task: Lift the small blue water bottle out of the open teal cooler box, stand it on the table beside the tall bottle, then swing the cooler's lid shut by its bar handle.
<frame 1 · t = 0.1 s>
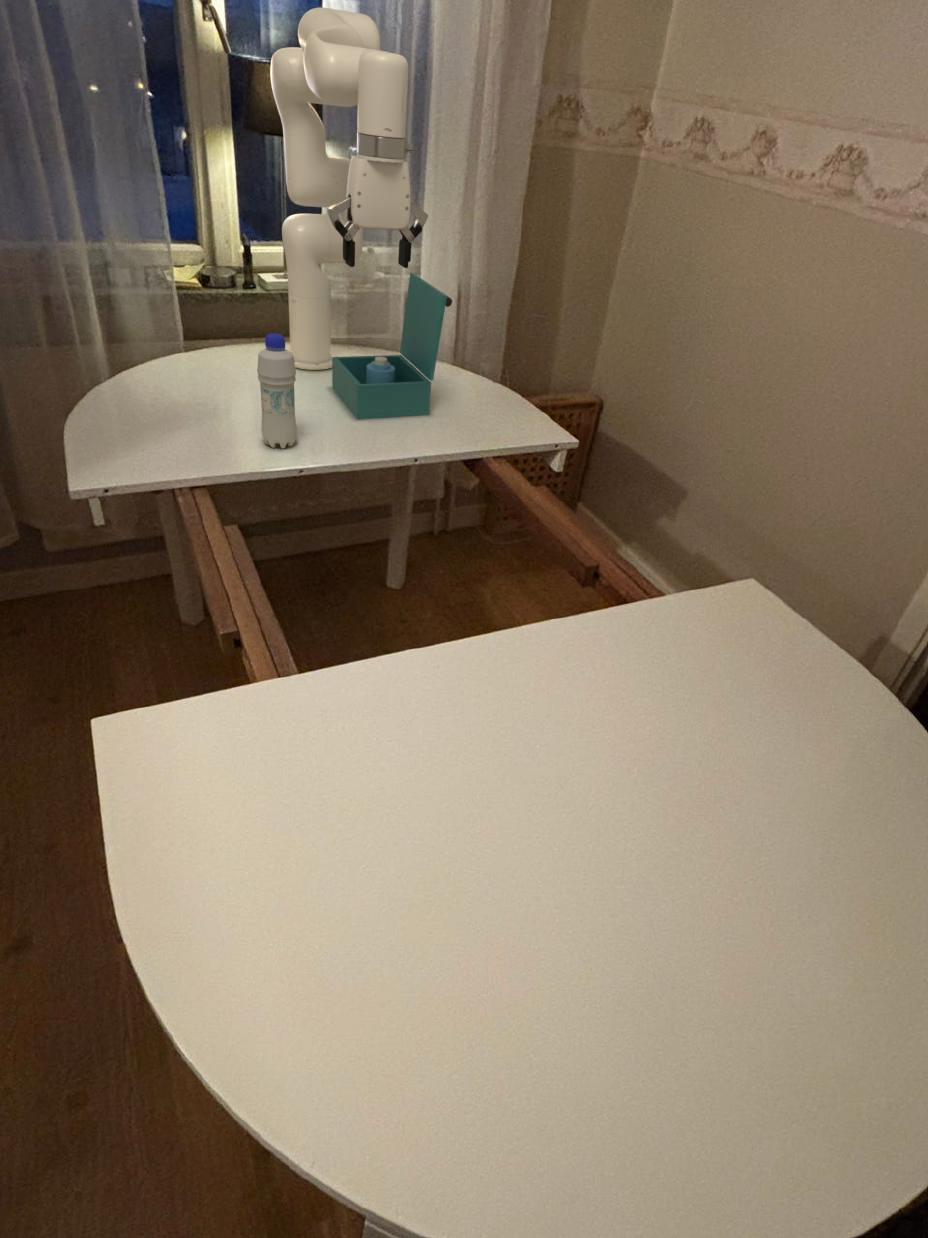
hand: (376, 265, 127), 31 cm above the table, tool pointing down, fingers open, 9 cm apart
water bottle: (379, 396, 161), point 1 cm above the table, touching cooler
cooler: (379, 401, 161), on the table
bottle: (279, 444, 139), on the table
cooler lid: (430, 326, 156), point 16 cm above the table, hinge at 95.0°
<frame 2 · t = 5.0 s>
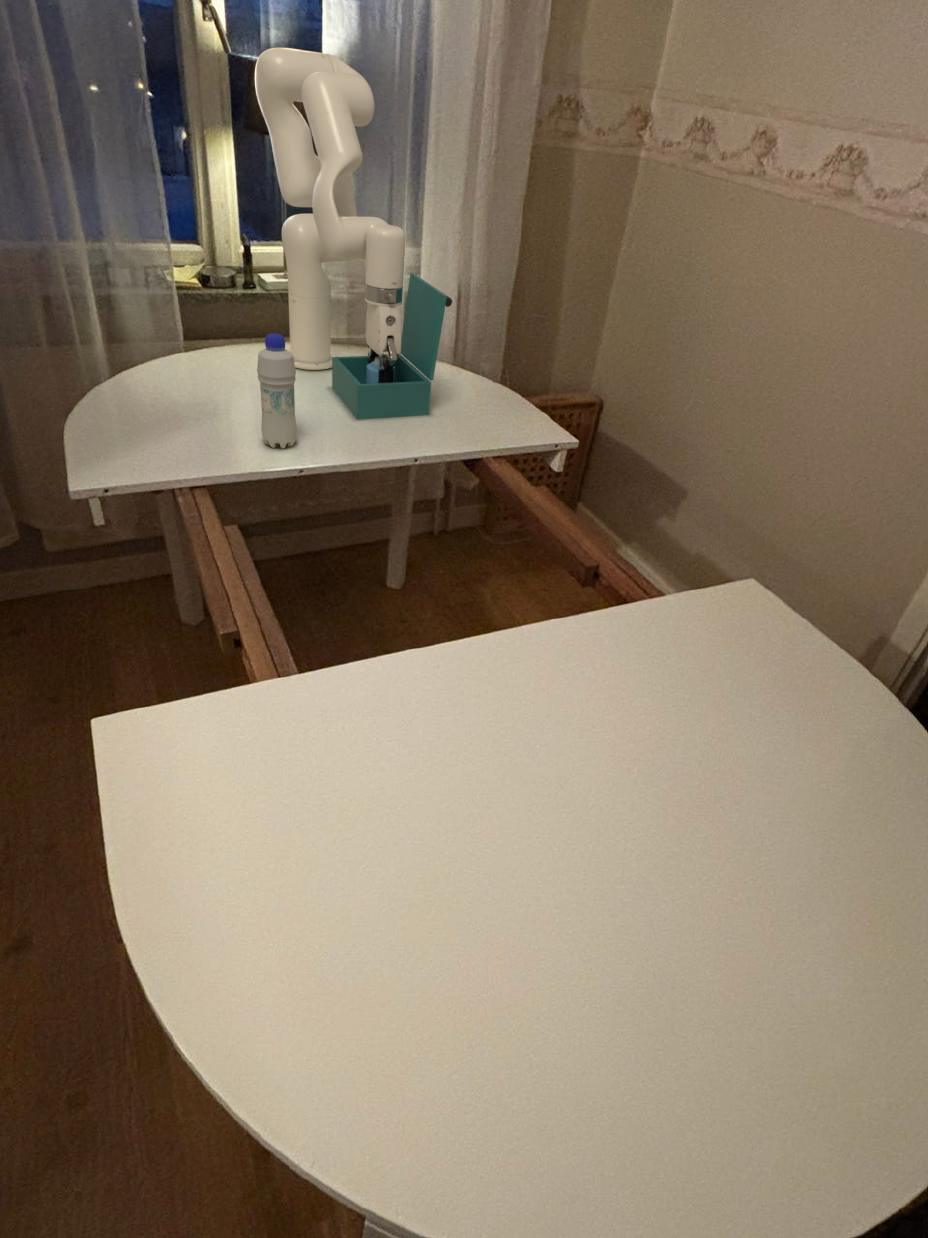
hand: (380, 381, 159), 4 cm above the table, tool pointing down, fingers closed on water bottle, 6 cm apart
water bottle: (379, 396, 161), point 1 cm above the table, touching cooler, gripper
everything else where it was.
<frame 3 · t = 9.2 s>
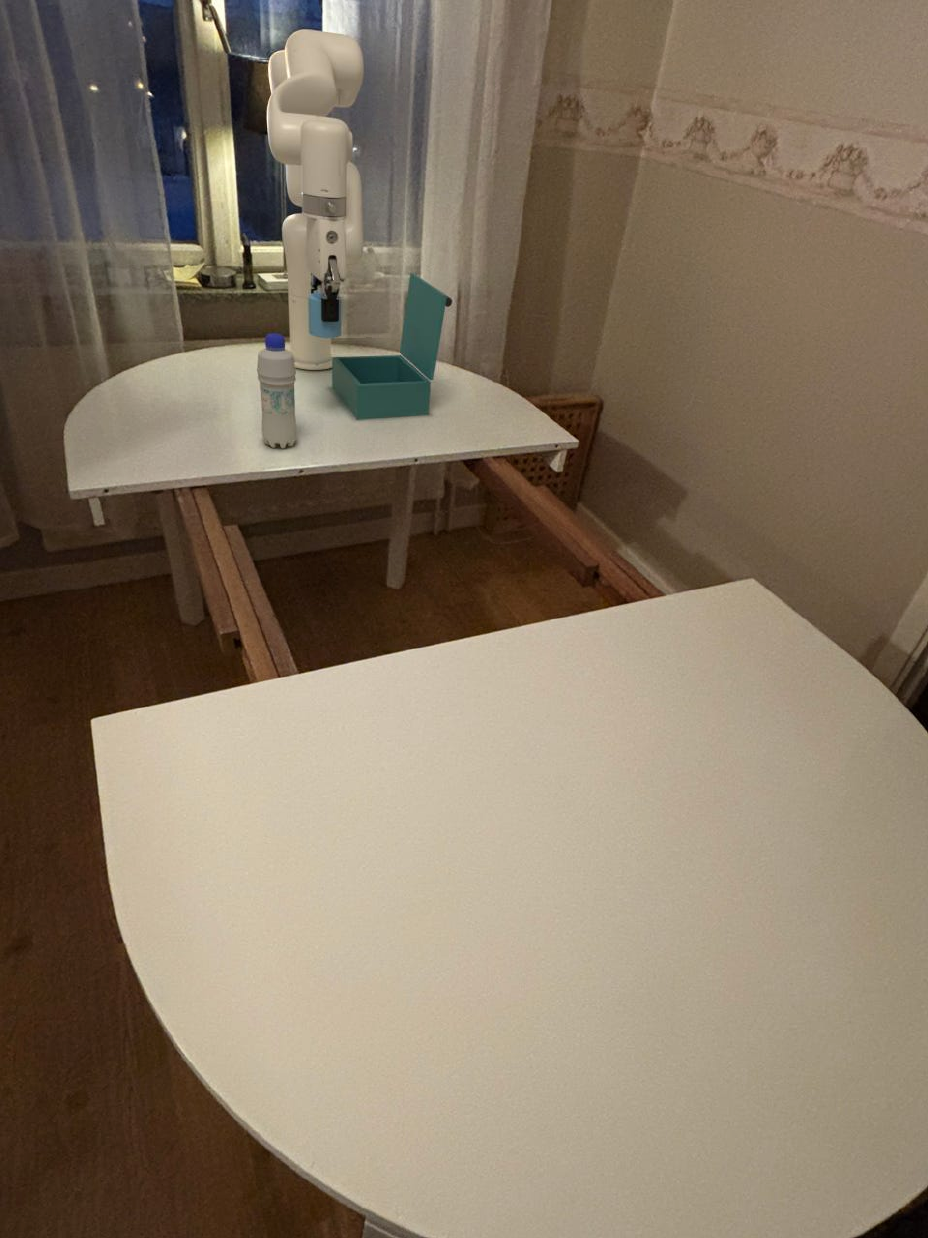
hand: (324, 315, 137), 21 cm above the table, tool pointing down, fingers closed on water bottle, 6 cm apart
water bottle: (325, 333, 139), point 17 cm above the table, touching gripper
everything else where it was.
when the fingers open (3 cm above the table, at t = 13.5 s): water bottle stays where it is, on the table.
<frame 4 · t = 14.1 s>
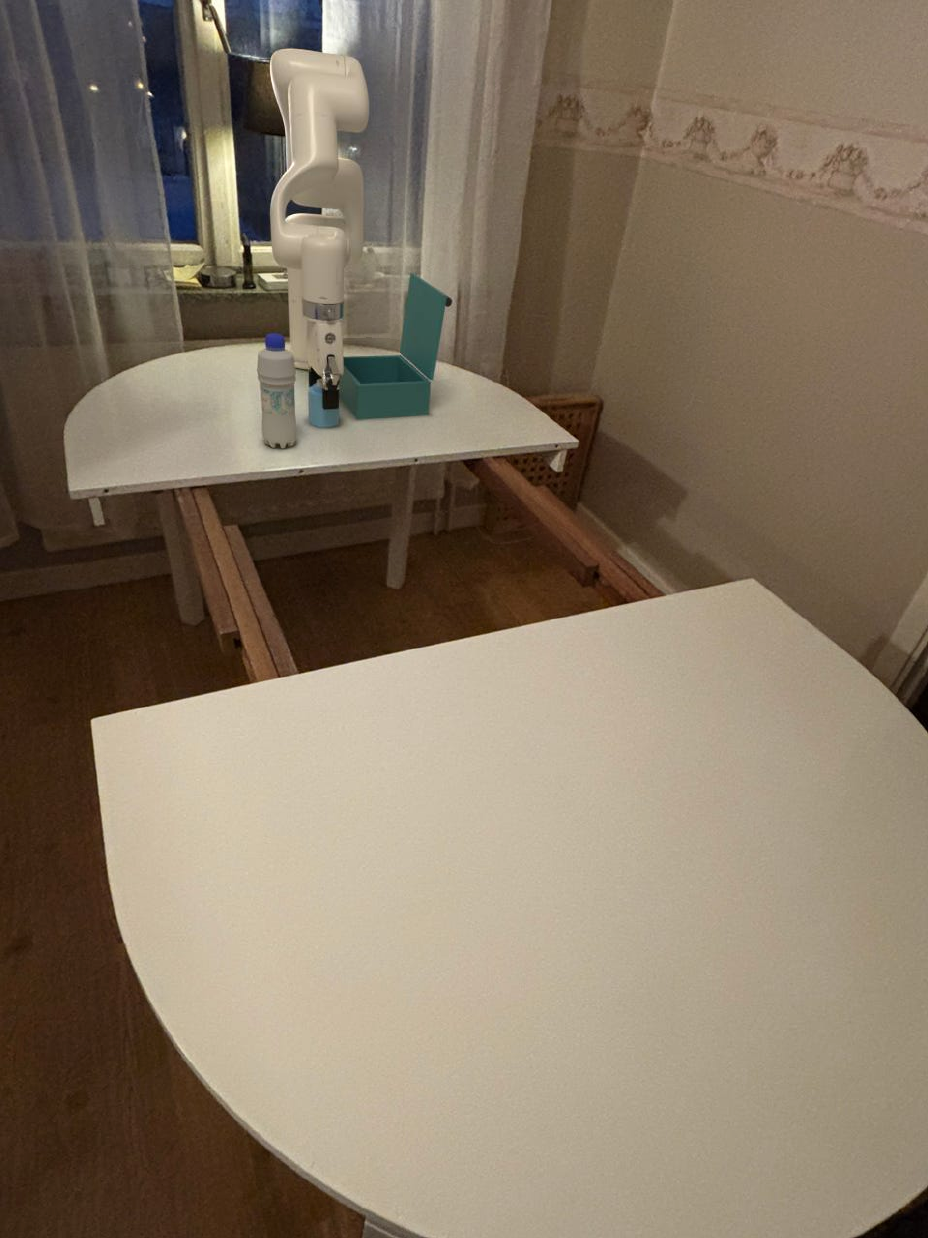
hand: (323, 399, 147), 5 cm above the table, tool pointing down, fingers open, 9 cm apart
water bottle: (323, 421, 149), on the table
everything else where it was.
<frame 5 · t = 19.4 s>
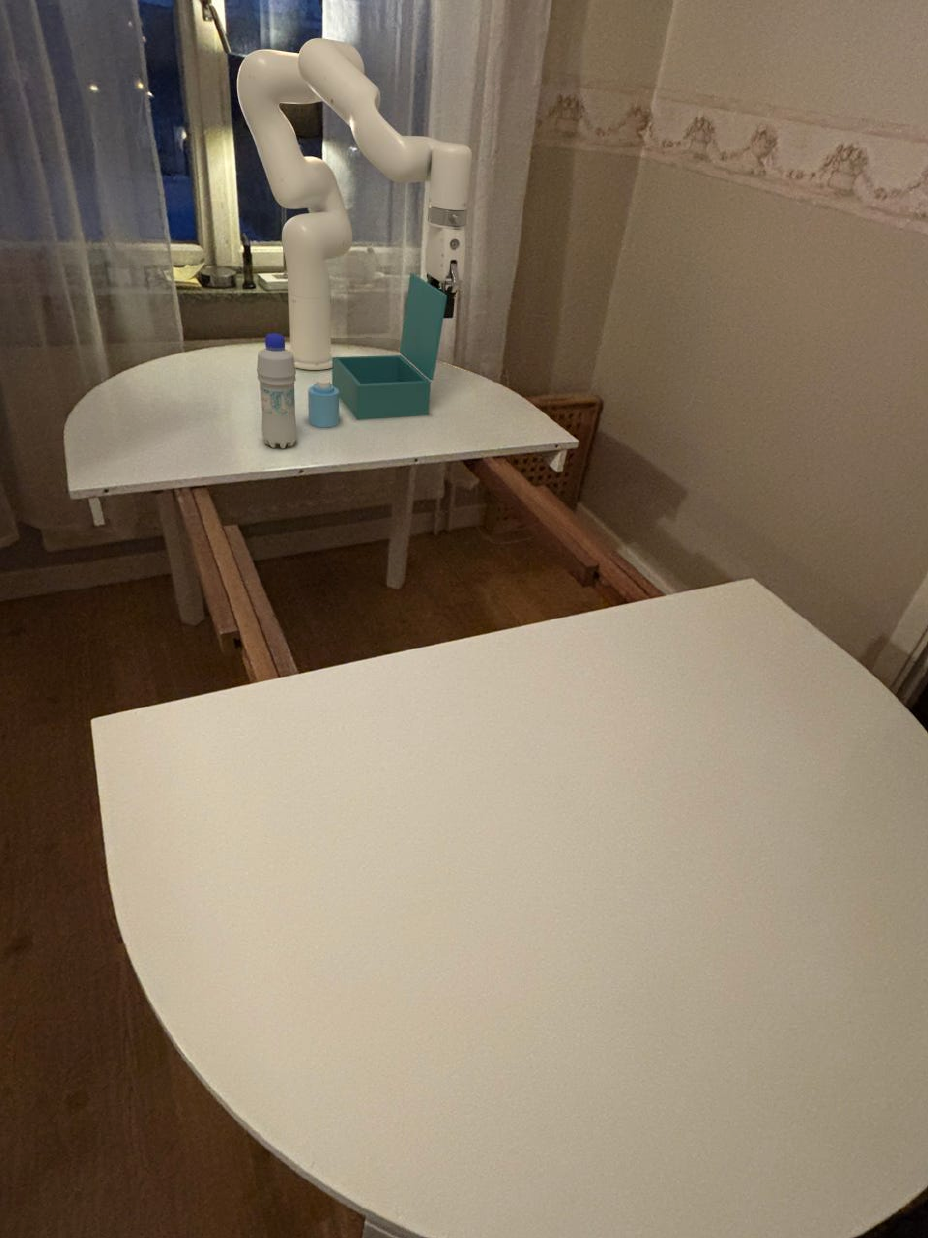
hand: (439, 312, 155), 19 cm above the table, tool pointing down, fingers closed on cooler lid, 6 cm apart
cooler lid: (430, 326, 156), point 16 cm above the table, hinge at 95.0°, touching gripper
everything else where it was.
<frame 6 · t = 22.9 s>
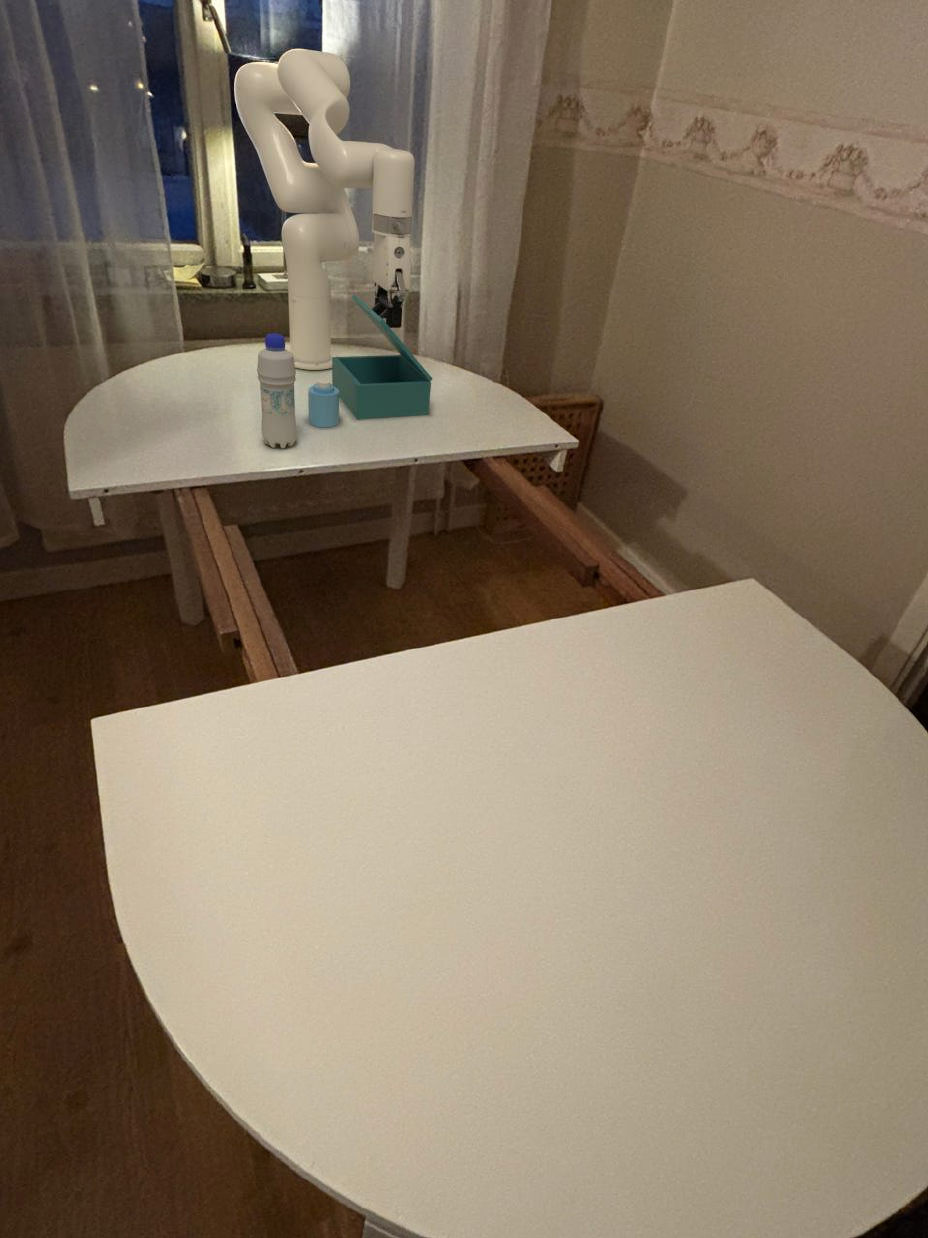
hand: (387, 321, 152), 17 cm above the table, tool pointing down, fingers closed on cooler lid, 6 cm apart
cooler lid: (399, 330, 154), point 15 cm above the table, hinge at 46.2°, touching gripper
everything else where it was.
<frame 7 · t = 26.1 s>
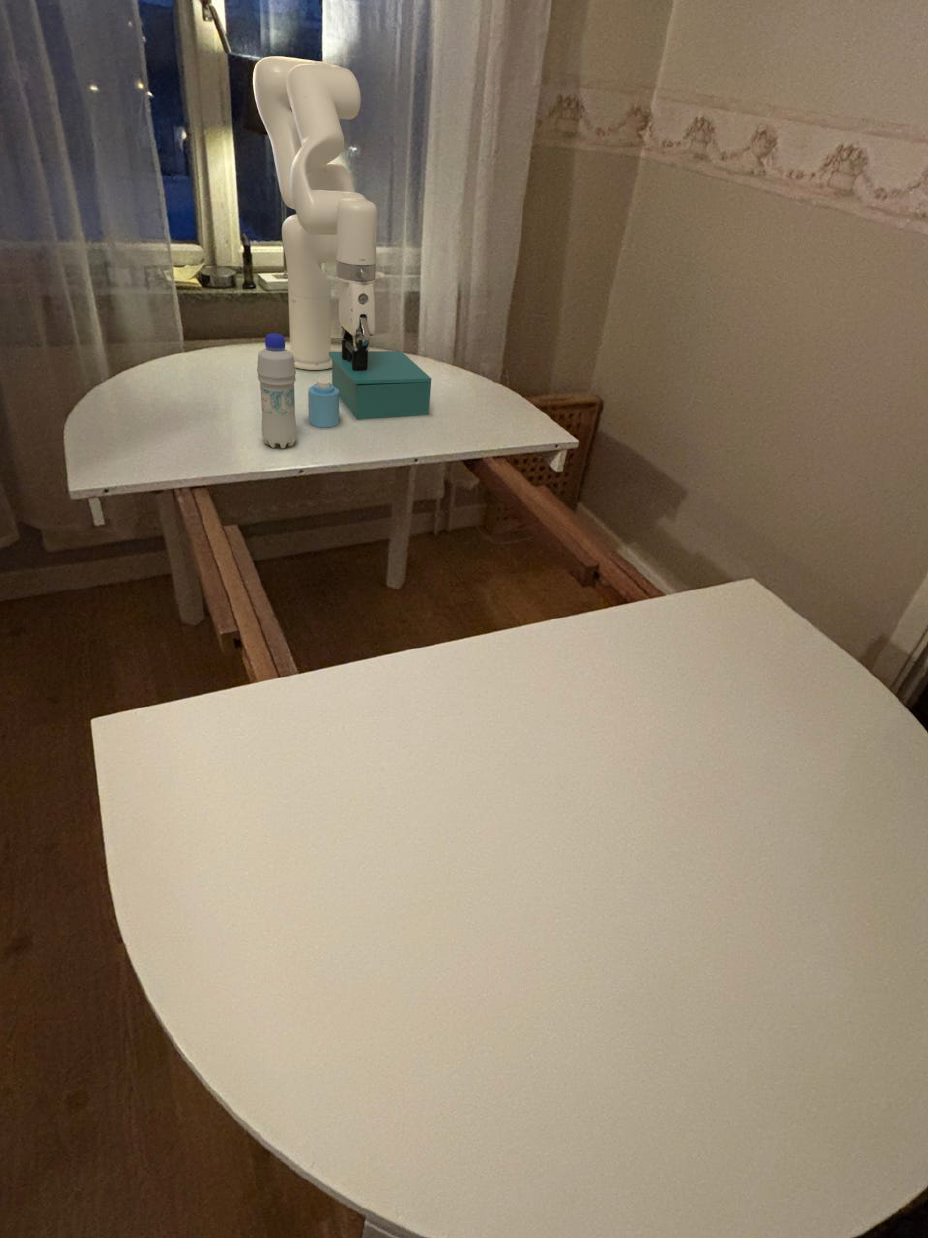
hand: (354, 363, 154), 8 cm above the table, tool pointing down, fingers closed on cooler lid, 6 cm apart
cooler lid: (379, 356, 156), point 10 cm above the table, hinge at 1.1°, touching gripper
everything else where it was.
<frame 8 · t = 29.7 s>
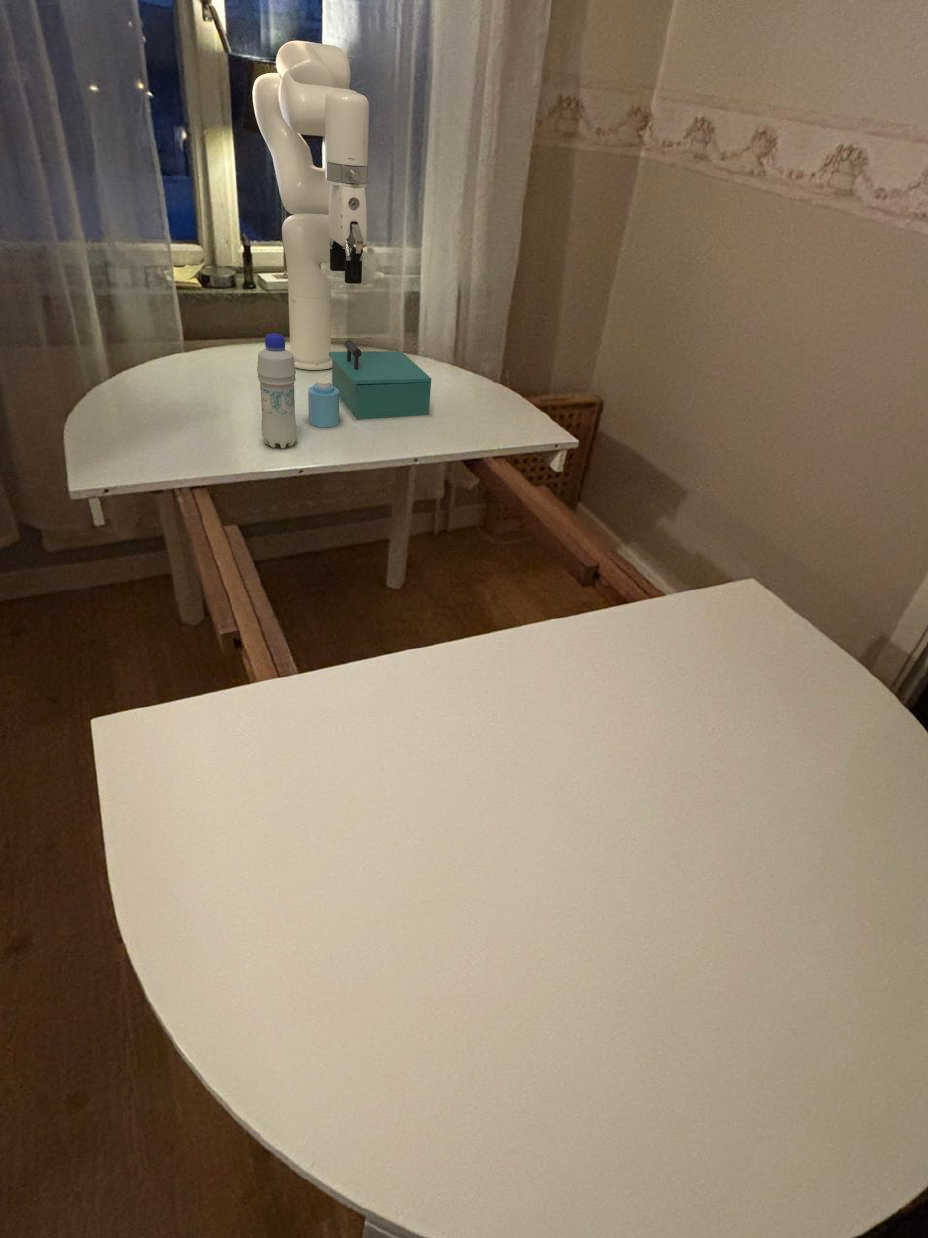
hand: (345, 276, 143), 25 cm above the table, tool pointing down, fingers open, 9 cm apart
cooler lid: (379, 356, 156), point 10 cm above the table, hinge at 0.9°
everything else where it was.
at the end: water bottle inside the target area on the table beside the bottle (0.1 cm from its centre), on the table; water bottle tilted 0°; cooler lid at +1° (first picture: +95°) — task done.
